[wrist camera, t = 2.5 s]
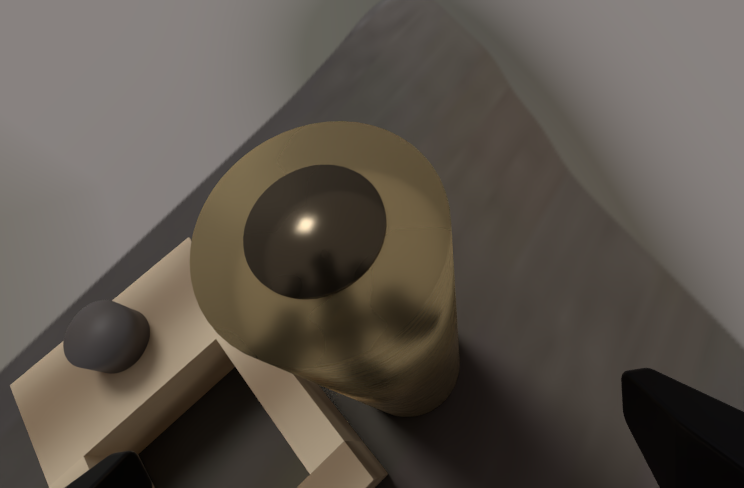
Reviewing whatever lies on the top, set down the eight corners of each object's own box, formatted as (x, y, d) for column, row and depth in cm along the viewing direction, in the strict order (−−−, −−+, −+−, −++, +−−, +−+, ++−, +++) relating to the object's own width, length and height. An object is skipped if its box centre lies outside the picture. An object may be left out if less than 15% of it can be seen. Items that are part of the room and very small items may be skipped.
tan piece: (482, 362, 18) (513, 218, 6) (403, 442, 17) (285, 437, 6) (407, 289, 19) (331, 81, 8) (334, 358, 19) (143, 232, 8)
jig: (388, 473, 16) (364, 482, 13) (196, 670, 15) (102, 749, 11) (222, 262, 22) (169, 222, 18) (69, 393, 20) (-25, 381, 17)
